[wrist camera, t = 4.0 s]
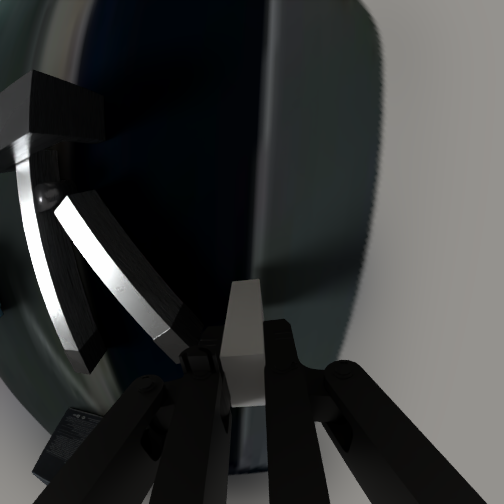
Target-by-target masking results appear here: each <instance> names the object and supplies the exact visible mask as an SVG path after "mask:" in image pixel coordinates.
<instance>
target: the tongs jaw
mask: <svg viewBox="0 0 504 504" xmlns="http://www.w3.org/2000/svg"><path fill="white" fill-rule="evenodd" d="M54 213H55V215H56V216H57V218H58V219H59V221H60V223H61V224H62V226H63V227H64V229H65V230H66V232H67V233H68V235H69V236H70V238H71V239H72V241H73V242H74V243H75V245H76V246H77V248H78V249H79V251H80V252H81V253H82V255H83V256H84V257H85V259H86V260H87V262H88V263H89V264H90V266H91V267H92V268H93V270H94V271H95V272H96V273H97V275H98V276H99V277H100V279H101V280H102V281H103V282H104V284H105V285H106V286H107V287H108V289H109V290H110V291H111V292H112V293H113V295H114V296H115V297H116V298H117V299H118V301H119V302H120V303H121V304H122V305H123V306H124V308H125V309H126V310H127V311H128V312H129V313H130V314H131V315H132V317H133V318H134V319H135V320H136V321H137V322H138V323H139V324H140V325H141V326H142V328H143V329H144V330H145V331H146V332H147V333H148V334H149V335H150V336H151V337H152V338H153V341H154V342H155V343H156V344H157V345H158V346H159V347H160V348H161V349H162V350H163V351H164V352H165V353H166V354H167V355H168V356H169V357H170V358H171V359H172V360H173V361H174V362H175V363H176V364H178V363H180V360H179V357H178V356H179V355H180V353H181V352H182V351H184V350H185V349H187V348H189V347H192V346H197V345H198V344H199V341H200V337H201V334H202V330H203V327H204V324H203V323H202V322H201V321H200V320H199V318H198V317H197V316H196V315H195V314H194V313H193V312H192V311H191V310H190V308H189V307H188V306H187V305H186V304H185V303H184V302H182V301H181V300H180V299H179V298H178V296H177V295H176V294H175V293H174V292H173V291H172V290H171V288H170V287H169V286H168V285H167V284H166V282H165V281H164V280H163V279H162V278H161V276H160V275H159V274H158V273H157V272H156V270H155V269H154V268H153V267H152V266H151V264H150V263H149V262H148V261H147V259H146V258H145V257H144V256H143V254H142V253H141V252H140V251H139V249H138V248H137V247H136V245H135V244H134V243H133V241H132V240H131V239H130V238H129V236H128V235H127V234H126V232H125V231H124V230H123V228H122V227H121V226H120V224H119V223H118V222H117V220H116V219H115V217H114V216H113V215H112V213H111V212H110V210H109V209H108V208H107V206H106V205H105V203H104V202H103V201H102V199H101V198H100V196H99V195H98V193H97V192H96V190H92V191H86V192H81V193H76V194H72V195H67V196H66V197H65V199H64V200H63V201H62V203H61V204H60V205H59V207H58V208H57V209H56V211H55V212H54Z"/></svg>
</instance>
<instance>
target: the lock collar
mask: <svg viewBox="0 0 504 504" xmlns="http://www.w3.org/2000/svg"><path fill="white" fill-rule="evenodd" d="M62 141H68V142H81V143H91V144H96V143H100V142H103V141H106V137H105V122H104V96H102V95H100V94H97V93H95V92H93V91H90V90H88V89H85V88H83V87H80V86H77V85H75V84H72V83H70V82H67V81H64V80H61V79H59V78H56V77H53V76H50V75H47V74H44V73H42V72H39V71H35V70H31V71H30V72H28V73H27V74H25V75H24V76H22V77H21V78H20V79H18V80H17V81H15V82H14V83H13V84H11V85H10V86H9V87H7V88H6V89H5V90H4V91H2V92H1V93H0V173H5V172H12V171H16V163H18V162H19V161H21V160H23V159H25V158H27V157H29V156H31V155H33V154H35V153H37V152H39V151H41V150H44V149H46V148H48V147H50V146H52V145H55V144H57V143H59V142H62Z"/></svg>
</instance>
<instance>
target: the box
mask: <svg viewBox="0 0 504 504" xmlns="http://www.w3.org/2000/svg"><path fill="white" fill-rule="evenodd" d="M102 418H103V417H101V416H98V415H94V414H91V413H86V412H83V411H79V410H75V409H72V408H69V409H68V410H67V411H66V413H65V415H64V416H63V418H62V419H61V421H60V423H59V424H58V426H57V428H56V429H55V431H54V433H53V435H52V436H51V438H50V440H49V441H48V443H47V445H46V447H45V449H44V450H43V452H42V454H41V455H40V457H39V460H38V461H37V463H36V465H35V467H34V469H33V470H32V473H33V474H34V475H35V476H36V477H37V478H39V479H40V480H41V481H42V482H43V483H45V484H46V485H48V484H49V483H50V482H51V480H52V479H53V478H54V477H55V475H56V474H57V473H58V472H59V471H60V469H61V468H62V467H63V466H64V464H65V463H66V462H67V461H68V460H69V458H70V457H71V456H72V455H73V453H74V452H75V451H76V450H77V449H78V447H79V446H80V445H81V444H82V442H83V441H84V440H85V439H86V438H87V436H88V435H89V434H90V433H91V432H92V430H93V429H94V428H95V427H96V425H97V424H98V423H99V422H100V421H101V419H102Z"/></svg>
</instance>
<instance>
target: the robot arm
mask: <svg viewBox="0 0 504 504" xmlns="http://www.w3.org/2000/svg"><path fill="white" fill-rule="evenodd" d="M178 357H179V360H180V363H181V366H182V369H183V372H184V376H183V377H182V378H180V379H177V380H174V381H169V382H163V380H162V379H161V378H160V377H158V376H156V375H144V376H141V377H139V378H137V379H136V380H135V381H133V382H132V383H131V385H130V386H129V387H128V388H127V389H126V391H125V392H124V393H123V394H122V395H121V397H120V398H119V399H118V400H117V401H116V403H115V404H114V405H113V406H112V407H111V409H110V410H109V411H108V412H107V413H106V415H105V416H104V417H103V418H102V419H101V421H100V422H99V423H98V424H97V425H96V427H95V428H94V429H93V430H92V432H91V433H90V434H89V435H88V436H87V438H86V439H85V440H84V441H83V442H82V444H81V445H80V446H79V447H78V449H77V450H76V451H75V452H74V453H73V455H72V456H71V457H70V458H69V460H68V461H67V462H66V463H65V464H64V466H63V467H62V468H61V469H60V471H59V472H58V473H57V474H56V475H55V477H54V478H53V479H52V480H51V482H50V483H49V484H48V485H47V487H46V488H45V489H44V490H43V492H42V493H41V494H40V495H39V496H38V498H37V499H36V500H35V502H34V503H33V504H141V503H142V502H143V500H144V498H145V496H146V495H147V493H148V491H149V490H150V488H151V486H152V485H153V483H154V485H153V489H152V494H151V497H150V502H149V504H226V498H227V481H228V467H229V452H230V437H231V422H232V416H231V411H230V400H231V404H232V407H245V406H260V405H265V406H266V429H267V452H268V476H269V503H270V504H330V500H329V494H328V489H327V484H326V478H325V473H324V468H323V463H322V458H321V453H320V448H319V443H318V438H317V433H316V428H315V423H314V421H317V422H321V423H322V425H323V427H324V428H325V430H326V432H327V433H328V435H329V437H330V438H331V440H332V441H333V443H334V445H335V446H336V448H337V450H338V451H339V453H340V454H341V456H342V458H343V459H344V461H345V463H346V464H347V466H348V467H349V469H350V471H351V472H352V474H353V475H354V477H355V478H356V480H357V482H358V483H359V485H360V486H361V488H362V489H363V491H364V492H365V494H366V495H367V497H368V499H369V500H370V502H371V503H372V504H487V503H486V502H485V501H484V500H483V499H482V498H481V497H480V496H479V494H478V493H477V492H476V491H475V490H474V489H473V488H472V487H471V486H470V485H469V484H468V482H467V481H466V480H465V479H464V478H463V477H462V476H461V475H460V474H459V473H458V471H457V470H456V469H455V468H454V467H453V466H452V465H451V464H450V463H449V462H448V461H447V460H446V458H445V457H444V456H443V455H442V454H441V453H440V452H439V451H438V450H437V449H436V448H435V447H434V445H432V443H431V442H430V441H429V440H428V439H427V438H426V437H425V436H424V435H423V434H422V432H421V431H419V429H418V428H417V427H416V426H415V425H414V424H413V423H412V422H411V420H410V419H409V418H408V417H407V416H406V415H405V414H404V413H403V412H402V411H401V410H400V408H399V407H398V406H397V405H396V404H395V403H394V402H393V401H392V400H391V399H390V398H389V397H388V396H387V395H386V393H385V392H384V391H383V390H382V389H381V388H380V387H379V386H378V385H377V384H376V383H375V381H374V380H373V379H372V378H371V377H370V376H369V375H368V374H367V373H366V372H365V371H364V370H363V368H362V367H361V366H360V365H358V364H357V363H355V362H352V361H349V360H339V361H334V362H333V363H331V364H329V365H328V366H327V367H326V368H325V370H317V369H311V368H308V367H306V366H304V365H302V364H301V363H300V361H299V359H298V356H297V351H296V347H295V343H294V338H293V334H292V329H291V325H290V324H289V323H288V322H287V321H286V320H285V319H279V320H270V321H264V315H263V306H262V297H261V288H260V279H254V280H244V281H234V282H232V286H231V292H230V298H229V304H228V310H227V316H226V322H225V325H223V326H208V328H207V329H206V330H205V331H204V332H203V333H202V336H201V341H200V343H199V345H197V346H192V347H189V348H187V349H185V350H184V351H182V352H181V353H180V355H179V356H178Z"/></svg>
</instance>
